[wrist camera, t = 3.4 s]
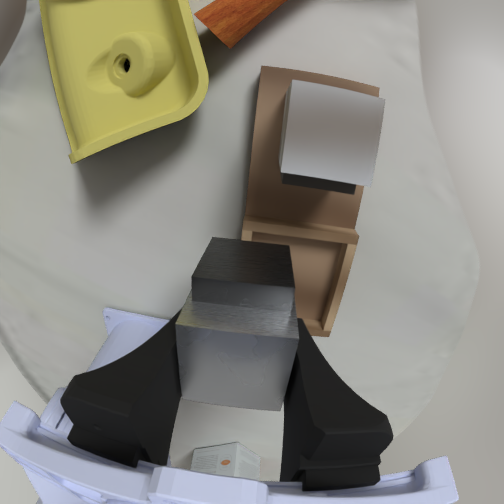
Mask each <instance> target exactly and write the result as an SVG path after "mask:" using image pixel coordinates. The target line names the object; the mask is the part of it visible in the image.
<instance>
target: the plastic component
mask: <svg viewBox="0 0 504 504" xmlns="http://www.w3.org/2000/svg"><path fill="white" fill-rule="evenodd" d="M39 3H40V11H41V18H42V25H43V32H44V38H45V44H46V49H47V55H48V60H49V65H50V70H51V75H52V79H53V84H54V88H55V92H56V96H57V100H58V104H59V108H60V111H61V115H62V119H63V122H64V126H65V129H66V132H67V136H68V139H69V142H70V146H71V150H72V153H71V154H69V158H70V161H71V164H73V163H76V162H78V161H80V160H82V159H84V158H86V157H88V156H90V155H92V154H94V153H97V152H99V151H101V150H103V149H106V148H108V147H110V146H113V145H115V144H117V143H120V142H122V141H125V140H127V139H130V138H132V137H135V136H138V135H140V134H143V133H146V132H148V131H151V130H154V129H157V128H159V127H162V126H165V125H168V124H171V123H174V122H177V121H179V120H182V119H183V118H185V117H187V116H189V115H190V114H191V113H192V112H194V111H195V110H196V109H197V108H198V107H199V105H200V104H201V102H202V101H203V100H204V98H205V95H206V93H207V90H208V84H209V79H208V71H207V67H206V63H205V60H204V56H203V53H202V49H201V45H200V42H199V38H198V35H197V31H196V27H195V24H194V20H193V17H192V13H191V10H190V6H189V2H188V0H39ZM127 58H128V60H129V61H130V69H129V71H128V72H126V71H125V70H124V63H125V60H126V59H127Z"/></svg>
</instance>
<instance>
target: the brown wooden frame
mask: <svg viewBox="0 0 504 504" xmlns="http://www.w3.org/2000/svg"><path fill="white" fill-rule="evenodd" d="M378 97H379V88H378V87H374V86H371V85H367V84H363V83H359V82H355V81H351V80H347V79H342V78H338V77H333V76H328V75H323V74H317V73H312V72H306V71H299V70H293V69H286V68H278V67H269V66H261V74H260V82H259V91H258V100H257V108H256V117H255V126H254V135H253V144H252V153H251V162H250V172H249V181H248V190H247V200H246V209H245V216H244V220H243V228H242V238H241V240H245V241H254V242H264V243H273V244H282V245H289V246H290V253H291V260H292V267H293V274H294V281H295V293H294V296H295V305H296V313H297V318H302V319H303V321H304V323H305V325H306V327H307V329H308V331H309V333H310V335H311V336H321V337H329V335H330V332H331V330H332V327H333V324H334V321H335V318H336V315H337V311H338V308H339V305H340V302H341V299H342V296H343V292H344V289H345V286H346V282H347V279H348V275H349V272H350V268H351V265H352V261H353V258H354V254H355V250H356V246H357V243H358V239H359V235H358V234H357V232H356V231H355V225H356V220H357V216H358V212H359V207H360V203H361V198H362V193H363V188H364V186H367V187H371V183H372V178H373V173H374V168H375V163H376V157H377V152H378V146H379V140H380V133H381V127H382V120H383V113H384V105H385V99H382V98H378Z"/></svg>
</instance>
